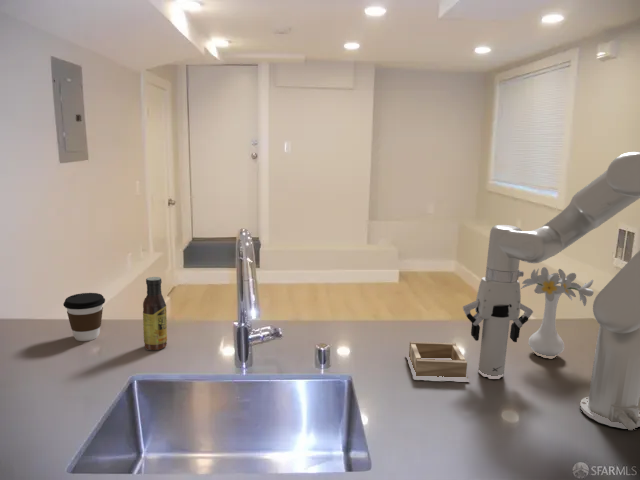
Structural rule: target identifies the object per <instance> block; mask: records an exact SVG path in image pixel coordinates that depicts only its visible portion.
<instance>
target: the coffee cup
mask: <svg viewBox="0 0 640 480" xmlns="http://www.w3.org/2000/svg"><path fill="white" fill-rule="evenodd" d="M105 302H106V298H105V297H104V296H103V295H102V293H101V294H100V293H98V292H81V293H76V294H73V295H70V296H68V297H66V298H65V299H64V302H63V306H64V308H65V309H66V313H67V317H68V320H69V325H70V326H69V327H70V329H71V330H72V335H73V337H74V338H75V340H76V341H78V342H89V341H92V340H95V339H97V338H99V335H100V332H101V326H102V319H103V311H104V310H103V309H104V307H103V305H104V304H105Z"/></svg>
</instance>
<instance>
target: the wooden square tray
mask: <svg viewBox="0 0 640 480" xmlns="http://www.w3.org/2000/svg"><path fill="white" fill-rule="evenodd" d="M408 348H409V349H408V354H409V357H410V360H411V362H412V365H413V368H414V370H415V372H416V376H437V377H439V376H442V377H443V376H444V377H466V374H467V369H468V361H467V360H466V358H465V357H464V354H463V353H462V351H461V349H459V347H458V345H457V344H456V342H445V341H444V342H440V341H439V342H438V341H415V340H414V341H412V340H411V341H409V347H408ZM421 358H451V359H452V360H435V359H421Z"/></svg>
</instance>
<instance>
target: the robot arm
mask: <svg viewBox="0 0 640 480" xmlns="http://www.w3.org/2000/svg"><path fill="white" fill-rule="evenodd" d="M639 199H640V151H628V152H625V153H623V154H620V155H618V156H617V157H615V158H614V159H613V160H611V163H609V165H608V167H607V170H606V171H604V172H603V173H602V174H600V175H599V176H597V177H596V178H595V179H593V180H592V181H591V182H590V183H588V184H587V185H585V186H584V187H582V188H581V189H580V190H578V191H577V192H576V193H575V194H574V195H573V196H572V197H571V200H570V202H569V203H568V204H567V206H566V207H565V208H564V209H563V210H562V211H561V212H560V213H558V214H557V215H556V216H555V217H553V218H552V219H550V220H549V221H547V222H546V223H545V224H544V225H543V224H542V226H540V227H538V228H535V229H533V230H527V231H523V229H521V228H520V227H518V226H514V225H510V224H509V225H508V224H497V225H494V226H492V227H491V228H490V232H489V238H488V250H487V257H486V258H487V260H486V269H485V276H483V277H481V279H480V283H479V286H478V290H477V295H476V299H475V301H472V302H470V303H468V304H465V305H463V306H462V310H463V312H464V314H465V316H466V318H467V319H468V320H469V321H470V322H471V330H470V335H471V337H472V338H473V339H474V341H477V342H478V341H479V338H480V330H481V327H480V323H481V322H483V319H490V316H491V314H492V311H493V306H507V305H509V304H511V305H512V307H510V305H509V307H508V308H509V313H508V314H509V318H508V319H509V320H510V321H512V323H511V325H510V331H509V338H510V340H512V342H514V343H517V342H518V339H519V338H520V330H521V328H522V327H523V325H524V324H526V322H528V321H529V318H531V316H532V314H533V313H534V311H533V310H532V309H531V308H529V307H528V306H526V305H525V304H523V303H521V297H522V296H521V294H522V293H521V283H520V281H519V278H520V277H524V274H525V273H524V271H522V270H520V269H519V268H520V261H521V262H524V263H528V264H539V263H541V262H544V261H546V260H548V259H550V258H552V257H554V256H556V255H558V254H559V253H561V252H562V251H564V250H565V249H567V248H568V247H570V246H571V245H572V244H574V243H575V242H577V241H579V240H580V239H581V238H582V237H584V236H586V235H587V234H588V233H589V232H591V231H593V230H595V229H597V228H599V227H601V225H603V224H605V223H606V222H607V221H608V220H610V219H612V218H613V217H615V216H616V215H617V214H619V213H620V212H622V211H623V210H625V209H626V208H627V207H629V206H630V205H632V204H633V203H635V202H637V201H638V200H639ZM472 310H474V311H475V314H474V315H472V313H471V311H472ZM521 311H523V314H522V315H520V313H521ZM592 312H593V316H594V319H595V320H596V322H597V324H599V327H598V332H597V333H598V334H597V338H596V343H595V344H596V345H595V350H594V351H595V352H594V357H593V358H594V359H593V365H592V371H591V372H592V373H591V378H590V384H589V392H588V396H586V397H582V399H581V400H580V401H581V402H579V407H580V406H581V408H582V409H583V410H584V411H586V412H587V413H589V414H590V415H592V416H594V415H593V414H591V413H590V412H594V413H596V414H598V415H600V416H602V417H605V418H608V419H609V420H610V421H611V422H619V423H622V424H623V425H624V426H625V427H626V428H627V429H628V431H634V430H636V429H635V427H636V426H640V418H638V417H640V414H639V412H640V407H639V402H640V250H638V251H637V252H636V253H635V255H633V256H632V257H631V258H630V260H628V262H626V264H624V266H623V267H622V268H620V270H619V271H618V272H617V274H615V275H614V277H612V279H611V280H610V281H609V282H608V283H607V284H606V285H605V286H604V287H603V288H602V289H601V290H600V291H599V292H598V293H597V295H596V296H595V299H594V300H593V304H592ZM586 398H588V399H586ZM587 401H588V402H587ZM582 402H585V403H586V404H583V403H582ZM594 417H595V416H594ZM633 429H634V430H633Z"/></svg>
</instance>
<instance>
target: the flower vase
mask: <svg viewBox="0 0 640 480" xmlns="http://www.w3.org/2000/svg"><path fill="white" fill-rule="evenodd" d="M539 270H540V269H539V268H537V269H535V268H534V269H533V270H532V271H531V273H530V278H526V279H524V280H523V281H522V283H521V284H523V286H521V287H520V290H521V289H524V288H527V287H529V286H533V285H536V286H535V289H534V290H533V291H534V293H535V294H544V300H545V303H544V304H545V305H544V311H543V317H542V322H541V325H540V327H539V328H538V330H537V331H535V332H534V333H532V334H531V335H530V337H529V338H528V346H529V347H530V348H531V350H532V351H535V352H537V353H539V354H542V355H546V356H555V355H557V356H558V355H560V354H561V353H562V352H563V351H564V350H565V343H564V341H563V339H562V337H561V336H560V335H559V334H558V333H559V332H558V330H557V326H556V321H557V320H556V317H557V307H558V302H559V299H560V296H561V295H562V294H565V295H566V296H567V297H568V298H569V299H570V300H571V301H573V298H576V297H577V296H576V293H575V292H574V291H573V290H575V291H578V295H579V301H580V302H581V301H582V304H583V307H585V306H587V303H588V302H587V301H588V300H587V297H593V295H594V290H593V289H592V288H591V286H592V285H593V284H594V279H592V280H590V281H589V282H587V283H586V282H585V283H584V284H583V285H582V286H581V285H580V284H579V283H576V282H574V281H575V280H576V279H577V274H576V273H575V272H571V273H569V274H567V276H566V273H565V271H564V270H563V269H562V268H559V269H558V270H557V271H558V272H553V273H551V274H550V273H549V270H548V268H547V267H545V266H544V267H542V268H541V270H540V274H539ZM558 284H559V285H558Z"/></svg>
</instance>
